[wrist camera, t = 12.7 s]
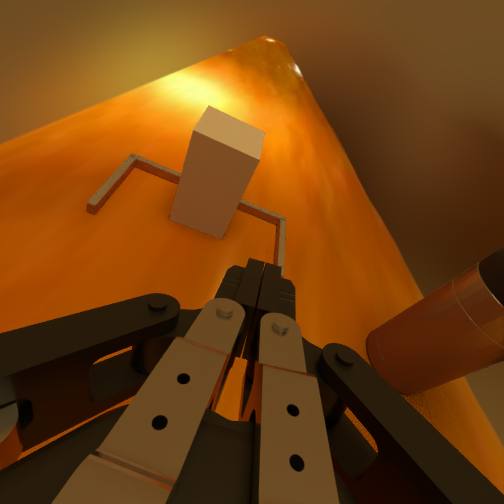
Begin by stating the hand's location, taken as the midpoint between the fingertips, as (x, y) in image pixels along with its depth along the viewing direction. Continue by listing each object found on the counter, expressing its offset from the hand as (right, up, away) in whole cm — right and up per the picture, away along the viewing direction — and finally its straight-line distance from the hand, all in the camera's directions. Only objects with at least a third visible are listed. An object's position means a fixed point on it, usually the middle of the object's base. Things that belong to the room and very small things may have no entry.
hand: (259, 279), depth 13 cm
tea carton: (-8, +7, +31) cm, 33 cm away
